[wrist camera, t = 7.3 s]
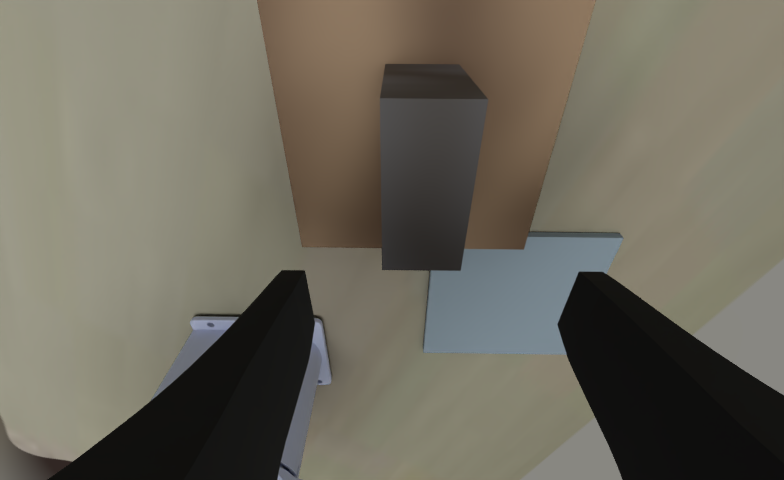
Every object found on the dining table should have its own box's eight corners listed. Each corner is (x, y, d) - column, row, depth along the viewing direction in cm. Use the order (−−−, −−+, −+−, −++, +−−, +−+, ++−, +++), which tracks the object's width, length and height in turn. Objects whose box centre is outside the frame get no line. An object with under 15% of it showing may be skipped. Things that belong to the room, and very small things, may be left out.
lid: (305, 239, 16) (274, 322, 12) (257, -35, 10) (166, -50, 6) (519, 241, 16) (561, 326, 12) (595, -32, 10) (726, -47, 6)
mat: (423, 347, 27) (423, 352, 27) (433, 231, 21) (434, 235, 20) (564, 348, 27) (566, 354, 27) (619, 233, 21) (623, 238, 20)
